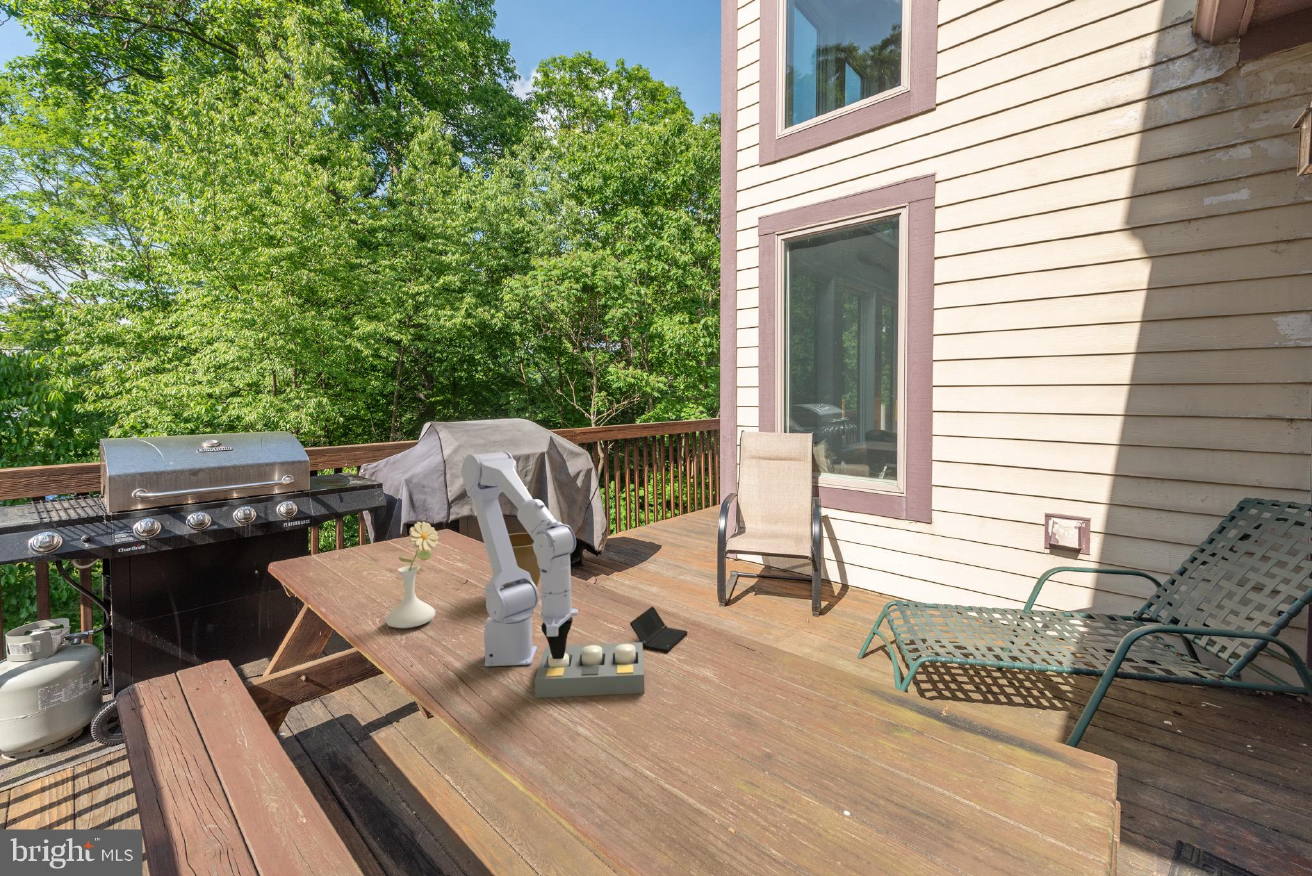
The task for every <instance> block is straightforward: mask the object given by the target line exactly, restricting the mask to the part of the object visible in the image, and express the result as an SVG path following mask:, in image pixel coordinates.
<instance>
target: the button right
mask: <svg viewBox="0 0 1312 876" xmlns="http://www.w3.org/2000/svg"><path fill="white" fill-rule="evenodd" d="M617 664H636V655H635V646H634V645H631V644H621V645H618V646H616V647H615V665H617Z"/></svg>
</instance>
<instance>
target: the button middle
mask: <svg viewBox="0 0 1312 876" xmlns="http://www.w3.org/2000/svg"><path fill="white" fill-rule="evenodd" d="M581 652H582V666H594V665H602V648H601V647H600V646H597V645H590V646H586V647H584V648H582V650H581Z"/></svg>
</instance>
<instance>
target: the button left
mask: <svg viewBox="0 0 1312 876" xmlns="http://www.w3.org/2000/svg"><path fill="white" fill-rule="evenodd" d="M548 667H569V655H568V654H566V653H565V654H564V658H563V659H553V658H552V655H550V656H549V657H548Z"/></svg>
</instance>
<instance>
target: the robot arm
mask: <svg viewBox="0 0 1312 876" xmlns="http://www.w3.org/2000/svg"><path fill="white" fill-rule="evenodd" d="M517 468H518V467H517V461H516V460H515V459H514V458H513V455H512V454H511V453H510V452H509V451H506V450H503V451H499V452H487V453H478V454H472V453H471V454H467V455H466V456H465V457H464V459H463V461H462V465H461V469H460V474H461V477H462V481H463V484H464V487H465V490H466V495H467V496H468V497H470V498H471V501H472V504H473V508H474V512H475V515H476V519H477V523H478V525H479V529H480V532H481V536H482V540H483V544H484V547H485V550H486V553H487V557H488V561H489V564H490V567H491V572H492V574H493V575H492V576H491V578H490V579H489V581H488V582H487V583H486V585H485V586H484V589H483V590H484V594H485V607H486V611H487V614H488V615H489V617H487V619H486V620H485V624H484V633H483V635H484V637H483V638H484V660H485V662H484V666H485V667H499V666H501V667H502V666H503V667H504V666H527V665H531V664H532V662H533V659H534V658H535V655H536V653H537V648H538V646H536V645H533V634H532V633H533V632H532V615H534V613H535V609H536V608H537V606H538V605H539V602H540V601H539V600H541V612H540V618H541V619H542V621H543V622H542V624H541V632H542V633H543V635H544V637H545V638H546V640H547V642H548V646H549V647H550V651H551V655H552V658H553V659H563V658H564V654H565V649H566V645H567V641H568V635H569V632H570V631H571V628H572V625H573V622H574V621H573V617H577V616H578V615H579V614H578V613H579V609H578V608H573V607H572V605H573V603H572V580H571V578H572V577H571V575H572V574H571V573H572V572H571V554H572V553H573V552H574V551H575V550H576V546H577V539H576V538H577V537H576V535H575V532H574V530H573V528H572V526H570V525H568V524H564V523H562V521H558V520H557V519H556V518H555V516H554V515H553V514H552V513H551V511H550V510H549V509H548V507H547V506H546V504H545V503H544V502H543V501H542V500H541V499H537V498H535V499H534V498H533V497H532V495H531V494H530V492H529V491H528V489H527V488H526V486H525V485H524V482H523V481H522V480H521V478H520V476H519V475H518V473H517ZM501 493H504V495H505V496H506V497H507V498H508V499H509V500H510V501H511V503H513V505H514V506H515V507H516V508H517V510H518V511H517V514H516V516H517V517H516V518H517V519H518V521H519V522H520V524H521V525H522V526H523V528H524V529H525V530H526V533H529V534H530V536H531V537H532V539H533V540H534V543H533V549H534V552H535V555H536V557H537V565H538V567H539V568H540V572H541V575H540V592H539V589H538V586H537V587H536V585H535V584H534V583H533V581H532V579H531V576H530V573H529V572H527V571H525V570H523V569H521V568H519V567H518V566H517V562H516V559H515V556H514V552H513V549H512V546H511V542H510V539H509V532H508V529H507V526H506V523H505V519H504V515H503V512H502V508H501V505H500V502H499V496H500V494H501ZM511 583H515V584H514V585H511V586H507V587H503V586H504V585H508V584H511ZM540 594H541V596H540ZM540 597H541V599H540Z"/></svg>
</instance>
